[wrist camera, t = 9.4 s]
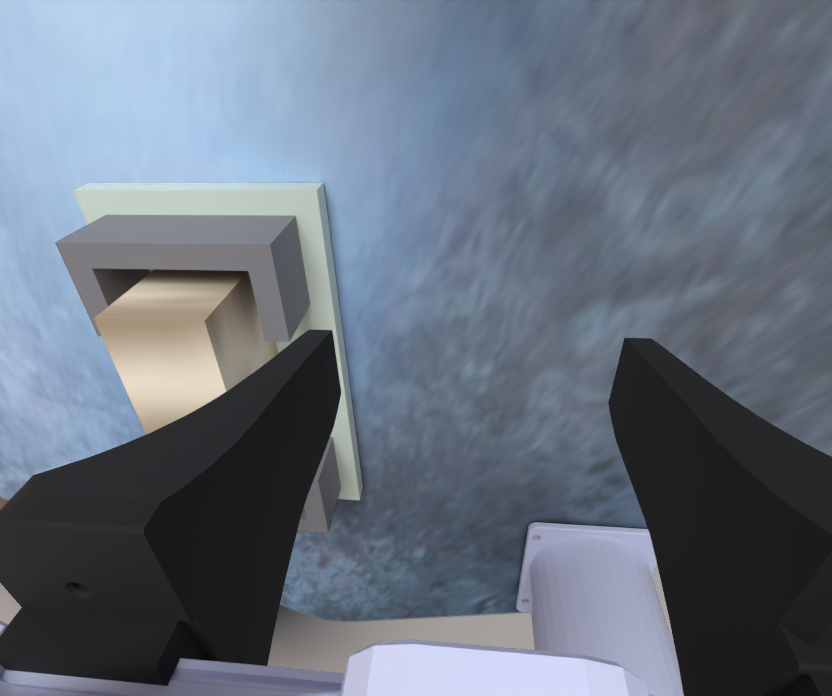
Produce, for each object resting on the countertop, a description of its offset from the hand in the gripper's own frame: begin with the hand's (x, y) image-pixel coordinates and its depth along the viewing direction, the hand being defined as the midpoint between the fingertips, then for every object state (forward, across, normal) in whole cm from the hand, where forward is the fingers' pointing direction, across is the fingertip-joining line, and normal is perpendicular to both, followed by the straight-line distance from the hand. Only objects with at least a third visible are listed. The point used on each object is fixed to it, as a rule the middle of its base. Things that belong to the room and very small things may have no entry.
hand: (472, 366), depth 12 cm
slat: (+8, +11, +7) cm, 15 cm away
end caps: (+9, +11, +7) cm, 16 cm away
